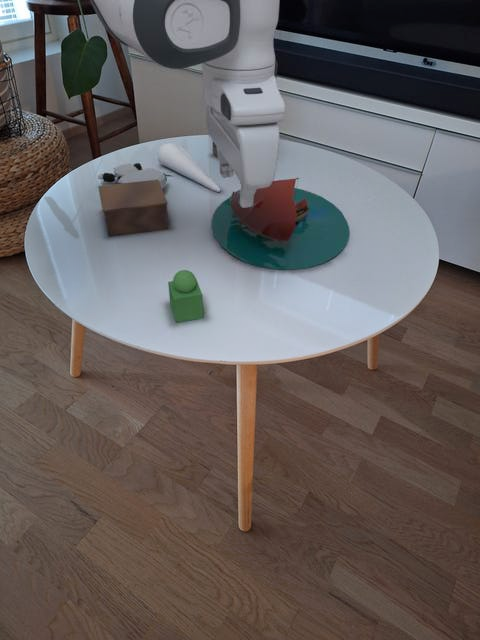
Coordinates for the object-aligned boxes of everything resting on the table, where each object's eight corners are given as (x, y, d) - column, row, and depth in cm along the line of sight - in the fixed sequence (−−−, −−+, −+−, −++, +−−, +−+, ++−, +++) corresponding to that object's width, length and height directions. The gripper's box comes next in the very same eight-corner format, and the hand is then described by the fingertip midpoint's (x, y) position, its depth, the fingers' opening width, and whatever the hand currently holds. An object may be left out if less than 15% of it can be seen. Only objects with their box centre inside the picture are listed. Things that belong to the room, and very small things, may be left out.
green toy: (175, 323, 74) (172, 283, 68) (170, 305, 77) (166, 266, 71) (203, 318, 75) (201, 278, 69) (196, 300, 78) (195, 261, 72)
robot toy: (96, 188, 108) (131, 208, 99) (92, 169, 105) (127, 188, 96) (141, 174, 114) (177, 192, 106) (138, 155, 111) (175, 172, 103)
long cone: (197, 206, 105) (156, 166, 115) (220, 201, 108) (178, 163, 118) (200, 183, 101) (157, 144, 111) (224, 179, 105) (180, 141, 114)
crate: (107, 237, 91) (102, 210, 87) (103, 212, 99) (98, 185, 95) (169, 229, 94) (167, 202, 90) (160, 205, 102) (158, 179, 98)
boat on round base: (187, 216, 98) (184, 168, 90) (293, 180, 109) (298, 134, 101) (261, 295, 83) (265, 246, 74) (376, 244, 93) (391, 196, 85)
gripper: (194, 65, 64) (197, 162, 73) (237, 115, 50) (234, 227, 59) (237, 63, 66) (235, 158, 75) (291, 111, 51) (280, 221, 61)
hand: (235, 189), depth 67 cm, fingers open, 8 cm apart
